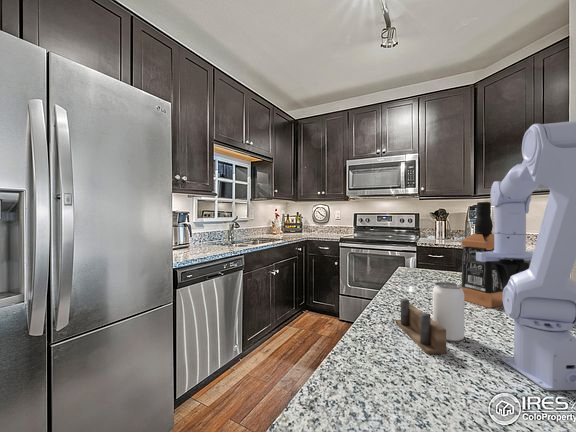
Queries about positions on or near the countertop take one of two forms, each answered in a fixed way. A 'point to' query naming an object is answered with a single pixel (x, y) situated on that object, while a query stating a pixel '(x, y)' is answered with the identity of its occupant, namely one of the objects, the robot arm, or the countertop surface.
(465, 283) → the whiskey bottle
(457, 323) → the can
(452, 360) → the countertop surface
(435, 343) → the rail
